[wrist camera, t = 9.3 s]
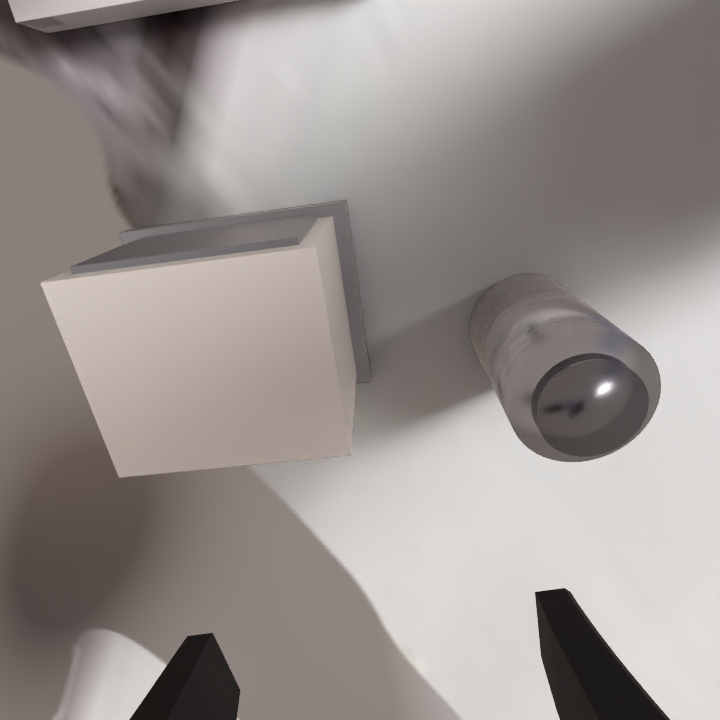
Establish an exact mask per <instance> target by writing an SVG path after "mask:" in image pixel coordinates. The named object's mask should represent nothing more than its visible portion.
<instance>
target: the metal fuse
mask: <svg viewBox="0 0 720 720" xmlns="http://www.w3.org/2000/svg"><path fill="white" fill-rule="evenodd" d="M469 332H470V339H471V343H472V345H473V348H474V350H475V352H476V354H477V356H478V358H479V360H480V362H481V364H482V366H483V368H484V370H485V372H486V374H487V376H488V378H489V380H490V382H491V384H492V387H493V389H494V391H495V393H496V395H497V397H498V399H499V401H500V403H501V405H502V407H503V409H504V411H505V413H506V415H507V417H508V419H509V421H510V423H511V425H512V427H513V429H514V432H515V433H516V435H517V436H518V438H519V439H520V440H521V441H522V442H523V444H524V445H526V446H527V447H528V448H529V449H530V450H532V451H533V452H535V453H537V454H539V455H541V456H543V457H546V458H549V459H552V460H557V461H563V462H581V461H588V460H593V459H597V458H600V457H603V456H606V455H608V454H611V453H613V452H615V451H617V450H619V449H620V448H622V447H624V446H625V445H627V444H628V443H629V442H631V441H632V440H633V439H634V438H635V437H636V436H637V435H639V434H640V433H641V431H642V430H643V429H644V428H645V427H646V425H647V424H648V423H649V421H650V420H651V418H652V416H653V414H654V412H655V410H656V408H657V405H658V402H659V398H660V392H661V381H660V374H659V371H658V367H657V365H656V363H655V361H654V359H653V358H652V356H651V355H650V353H649V352H648V351H647V350H646V349H645V348H644V347H643V346H641V345H640V344H639V343H637V342H636V341H635V340H633V339H632V338H631V337H629V336H628V335H627V334H626V333H624V332H623V331H622V330H620V329H619V328H618V327H616V326H615V325H614V324H612V323H611V322H610V321H608V320H607V319H606V318H604V317H603V316H602V315H600V314H599V313H598V312H596V311H595V310H594V309H592V308H591V307H590V306H588V305H587V304H586V303H584V302H583V301H582V300H581V299H579V298H578V297H577V296H575V295H574V294H573V293H571V292H570V291H569V290H567V289H566V288H565V287H563V286H562V285H561V284H559V283H558V282H557V281H555V280H553V279H551V278H549V277H546V276H543V275H538V274H520V275H515V276H511V277H508V278H506V279H504V280H501V281H500V282H498V283H496V284H495V285H493V286H492V287H491V288H489V289H488V290H487V291H486V292H485V293H484V294H483V295H482V297H481V298H480V299H479V301H478V302H477V304H476V306H475V308H474V310H473V312H472V315H471V319H470V326H469Z"/></svg>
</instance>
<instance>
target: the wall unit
mask: <svg viewBox="0 0 720 720" xmlns="http://www.w3.org/2000/svg"><path fill="white" fill-rule="evenodd" d="M119 235H120V238H121V241H122V246H120V247H117V248H115V249H112V250H110V251H108V252H105V253H103V254H100V255H98V256H96V257H93V258H91V259H88V260H86V261H83V262H81V263H78V264H76V265H73V266H71V267H70V268H71V270H70V271H67V272H65V273H63V274H60V275H58V276H55V277H53V278H51V279H48V280H46V281H44V282H41V286H42V288H43V291H44V293H45V296H46V298H47V301H48V303H49V306H50V308H51V311H52V313H53V316H54V318H55V321H56V323H57V325H58V328H59V330H60V333H61V335H62V338H63V340H64V343H65V345H66V348H67V350H68V353H69V355H70V358H71V360H72V363H73V365H74V368H75V370H76V372H77V375H78V377H79V380H80V382H81V385H82V387H83V390H84V392H85V395H86V397H87V400H88V402H89V405H90V407H91V410H92V412H93V415H94V417H95V419H96V422H97V424H98V427H99V429H100V432H101V434H102V437H103V439H104V442H105V444H106V447H107V449H108V452H109V454H110V457H111V459H112V462H113V464H114V467H115V469H116V471H117V474H118V476H119V478H121V477H131V476H141V475H151V474H161V473H172V472H182V471H193V470H204V469H214V468H223V467H233V466H245V465H255V464H266V463H276V462H286V461H297V460H307V459H317V458H328V457H338V456H348V455H351V446H352V432H353V418H354V404H355V391H356V384H357V383H367V382H371V373H370V366H369V359H368V351H367V344H366V337H365V330H364V322H363V315H362V308H361V301H360V293H359V286H358V279H357V271H356V264H355V257H354V250H353V242H352V235H351V228H350V221H349V213H348V206H347V200H343V201H336V202H328V203H321V204H314V205H306V206H299V207H292V208H284V209H277V210H270V211H263V212H255V213H248V214H241V215H233V216H226V217H219V218H212V219H204V220H197V221H190V222H182V223H175V224H168V225H160V226H153V227H146V228H139V229H131V230H126V231H123V232H120V233H119Z"/></svg>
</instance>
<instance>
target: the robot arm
mask: <svg viewBox="0 0 720 720" xmlns="http://www.w3.org/2000/svg"><path fill="white" fill-rule="evenodd" d="M535 596H536V606H537V617H538V628H539V638H540V649H541V657H542V661H543V664H544V668H545V671H546V675H547V678H548V682H549V685H550V689H551V692H552V695H553V699H554V702H555V706H556V709H557V712H558V715H559V718H560V720H670V719H669V718H668V717H667V716H666V714H665V713H664V712H663V711H662V710H661V709H660V708H659V706H658V705H657V704H656V703H655V702H654V701H653V699H652V698H651V697H650V696H649V695H648V693H647V692H646V691H645V690H644V689H643V687H642V686H641V685H640V684H639V683H638V682H637V680H636V679H635V678H634V677H633V676H632V674H631V673H630V672H629V671H628V670H627V668H626V667H625V666H624V665H623V663H622V662H621V661H620V660H619V658H618V657H617V656H616V655H615V653H614V652H613V651H612V649H611V648H610V647H609V646H608V644H607V643H606V642H605V640H604V639H603V638H602V636H601V635H600V634H599V632H598V631H597V630H596V628H595V627H594V626H593V624H592V623H591V622H590V620H589V619H588V617H587V616H586V615H585V613H584V612H583V610H582V609H581V607H580V606H579V604H578V603H577V601H576V600H575V598H574V597H573V595H572V594H571V592H570V591H568V590H567V589H565V588H563V589H555V590H547V591H540V592H535ZM239 695H240V689H239V687H238V685H237V683H236V681H235V679H234V676H233V674H232V672H231V670H230V668H229V666H228V664H227V662H226V660H225V658H224V656H223V654H222V651H221V649H220V647H219V645H218V643H217V641H216V639H215V637H214V635H213V633H209V634H201V635H193V636H188V637H187V638H186V639H185V640H184V642H183V643H182V645H181V646H180V648H179V649H178V650H177V652H176V653H175V655H174V656H173V658H172V659H171V661H170V662H169V663H168V665H167V666H166V668H165V669H164V671H163V672H162V674H161V675H160V677H159V678H158V679H157V681H156V682H155V684H154V685H153V687H152V688H151V690H150V691H149V693H148V694H147V695H146V697H145V698H144V700H143V701H142V703H141V704H140V706H139V707H138V708H137V710H136V711H135V713H134V714H133V715H132V717H131V718H130V720H236V719H237V711H238V703H239Z"/></svg>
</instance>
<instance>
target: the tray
mask: <svg viewBox="0 0 720 720" xmlns="http://www.w3.org/2000/svg"><path fill="white" fill-rule="evenodd" d="M233 1H239V0H8V2H9V5H10V7H11V10H12V13H13V16H14V19H15V22H16V23H19V24H22V25H25V26H28V27H31V28H34V29H37V30H40V31H43V32H46V33H52V32H58V31H64V30H70V29H76V28H82V27H87V26H93V25H99V24H105V23H111V22H117V21H122V20H128V19H134V18H140V17H146V16H152V15H157V14H163V13H169V12H175V11H181V10H187V9H192V8H198V7H204V6H210V5H216V4H222V3H227V2H233Z"/></svg>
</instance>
